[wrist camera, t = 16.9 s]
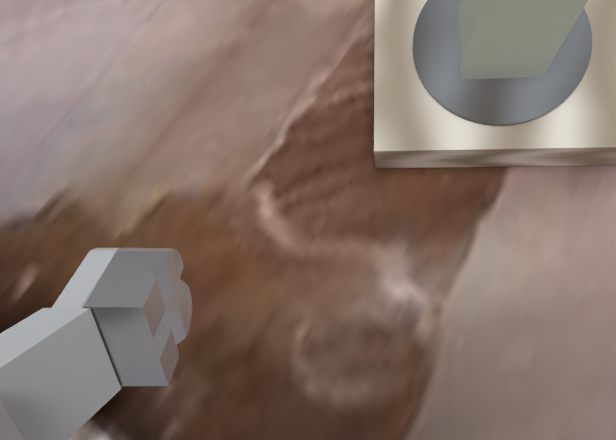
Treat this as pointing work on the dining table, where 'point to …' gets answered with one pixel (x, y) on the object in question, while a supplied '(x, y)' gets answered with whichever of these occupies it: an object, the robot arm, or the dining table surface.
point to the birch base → (490, 95)
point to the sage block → (512, 36)
